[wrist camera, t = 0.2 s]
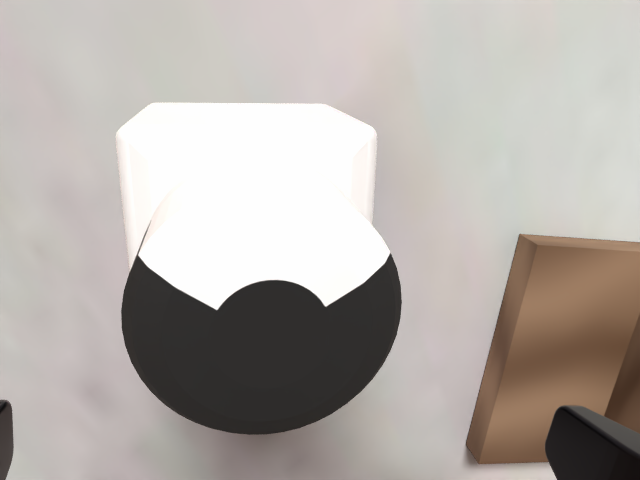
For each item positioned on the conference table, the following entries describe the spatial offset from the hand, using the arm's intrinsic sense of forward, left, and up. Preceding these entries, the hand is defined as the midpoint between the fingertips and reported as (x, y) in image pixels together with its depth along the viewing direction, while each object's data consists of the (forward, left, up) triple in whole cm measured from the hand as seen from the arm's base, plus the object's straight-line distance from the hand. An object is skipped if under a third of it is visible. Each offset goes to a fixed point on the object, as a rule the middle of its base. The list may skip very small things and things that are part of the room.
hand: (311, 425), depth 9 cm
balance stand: (-7, -22, -15) cm, 27 cm away
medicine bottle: (0, 0, -15) cm, 15 cm away
